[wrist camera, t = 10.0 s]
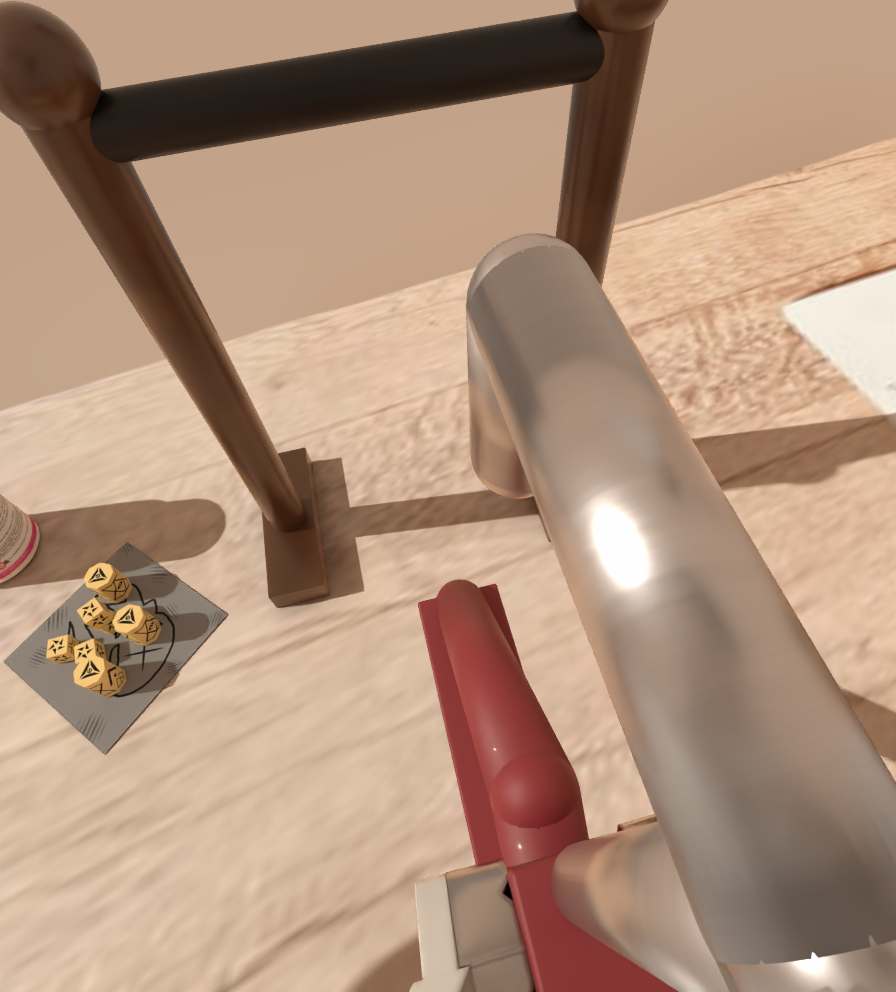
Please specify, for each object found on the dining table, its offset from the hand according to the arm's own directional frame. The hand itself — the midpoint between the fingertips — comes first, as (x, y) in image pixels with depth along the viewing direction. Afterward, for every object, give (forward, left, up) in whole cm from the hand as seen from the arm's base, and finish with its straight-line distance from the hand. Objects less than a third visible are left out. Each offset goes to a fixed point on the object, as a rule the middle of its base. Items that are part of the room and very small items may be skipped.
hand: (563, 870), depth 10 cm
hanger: (0, +1, -10) cm, 10 cm away
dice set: (-17, +14, -17) cm, 28 cm away
